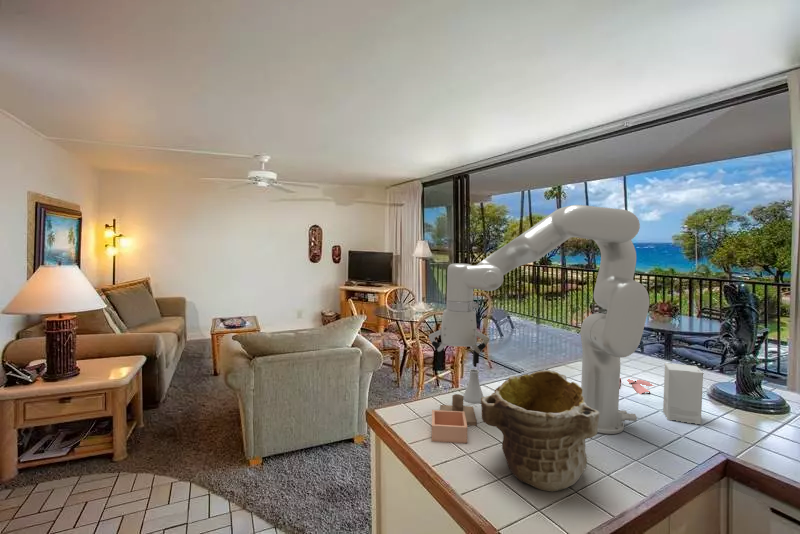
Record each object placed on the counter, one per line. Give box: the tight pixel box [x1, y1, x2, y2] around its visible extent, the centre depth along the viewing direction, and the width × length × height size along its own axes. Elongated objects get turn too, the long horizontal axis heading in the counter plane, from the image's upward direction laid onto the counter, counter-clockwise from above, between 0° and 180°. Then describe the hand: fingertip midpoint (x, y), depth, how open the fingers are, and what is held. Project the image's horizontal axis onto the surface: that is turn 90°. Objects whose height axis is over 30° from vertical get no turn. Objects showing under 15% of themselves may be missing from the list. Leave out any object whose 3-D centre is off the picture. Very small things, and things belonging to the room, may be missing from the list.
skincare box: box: [662, 362, 704, 425], centre depth 109 cm, size 8×7×16 cm
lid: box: [439, 393, 478, 427], centre depth 109 cm, size 10×10×6 cm
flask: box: [462, 368, 485, 405], centre depth 121 cm, size 7×7×10 cm
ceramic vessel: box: [480, 369, 600, 492], centre depth 82 cm, size 23×24×25 cm
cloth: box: [619, 377, 654, 395], centre depth 135 cm, size 20×22×2 cm
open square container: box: [431, 409, 468, 444], centre depth 99 cm, size 9×9×4 cm
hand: (457, 364), depth 108 cm, fingers open, 9 cm apart
